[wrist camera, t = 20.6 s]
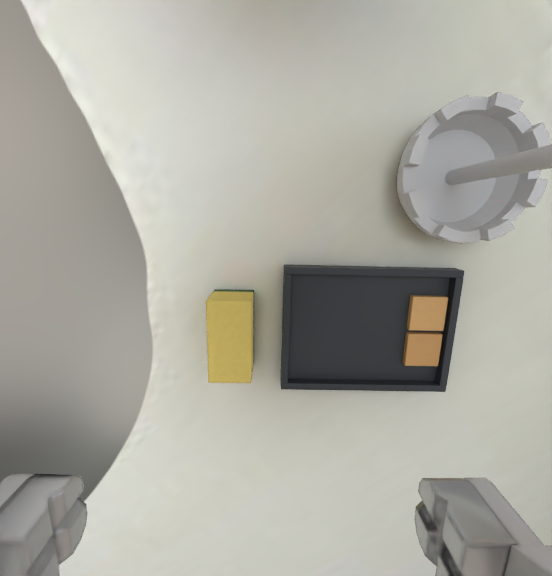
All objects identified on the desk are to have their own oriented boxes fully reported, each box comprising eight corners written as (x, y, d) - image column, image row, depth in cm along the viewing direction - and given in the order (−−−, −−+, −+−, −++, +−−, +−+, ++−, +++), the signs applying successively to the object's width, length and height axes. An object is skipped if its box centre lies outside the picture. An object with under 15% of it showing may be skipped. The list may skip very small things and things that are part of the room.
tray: (283, 264, 36) (284, 267, 34) (455, 268, 36) (464, 270, 34) (280, 381, 39) (280, 389, 37) (437, 384, 39) (445, 391, 37)
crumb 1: (410, 294, 36) (413, 296, 35) (444, 295, 36) (448, 297, 35) (406, 328, 37) (409, 330, 36) (440, 328, 37) (443, 331, 36)
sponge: (214, 289, 36) (205, 300, 31) (253, 289, 36) (251, 301, 31) (216, 361, 38) (208, 382, 33) (253, 362, 38) (250, 383, 33)
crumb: (405, 331, 37) (408, 333, 36) (439, 332, 37) (443, 334, 36) (401, 362, 38) (404, 366, 37) (434, 363, 38) (438, 366, 37)
